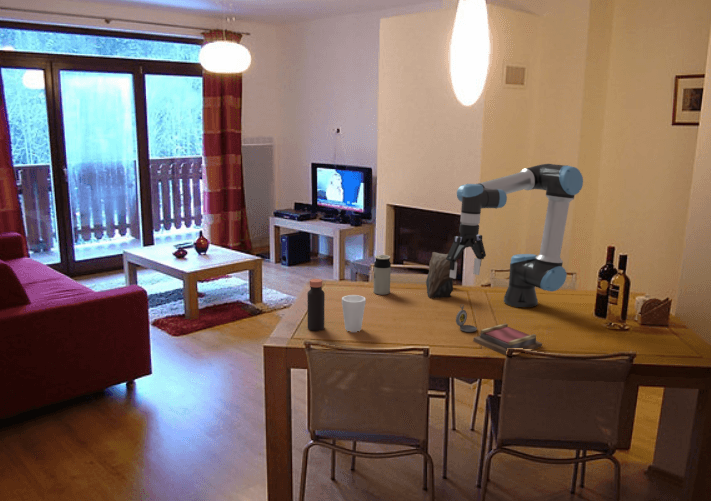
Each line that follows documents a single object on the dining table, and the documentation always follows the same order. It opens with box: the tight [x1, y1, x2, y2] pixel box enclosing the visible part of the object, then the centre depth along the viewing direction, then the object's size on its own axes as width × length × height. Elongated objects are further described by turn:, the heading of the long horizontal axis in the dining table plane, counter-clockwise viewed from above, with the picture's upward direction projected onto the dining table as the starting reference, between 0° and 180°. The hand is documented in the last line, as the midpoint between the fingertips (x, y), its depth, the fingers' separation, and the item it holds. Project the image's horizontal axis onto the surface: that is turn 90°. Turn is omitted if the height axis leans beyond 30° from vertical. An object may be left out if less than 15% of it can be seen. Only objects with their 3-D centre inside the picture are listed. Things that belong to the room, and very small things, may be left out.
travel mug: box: [372, 254, 392, 296], centre depth 287 cm, size 8×8×18 cm
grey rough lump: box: [425, 251, 454, 300], centre depth 285 cm, size 13×13×20 cm
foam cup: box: [341, 294, 367, 333], centre depth 238 cm, size 10×9×13 cm
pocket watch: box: [455, 303, 477, 333], centre depth 241 cm, size 8×8×10 cm
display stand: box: [472, 323, 543, 356], centre depth 226 cm, size 18×18×5 cm
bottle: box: [306, 278, 326, 332], centre depth 237 cm, size 7×7×20 cm
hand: (464, 276), depth 238 cm, fingers open, 13 cm apart
